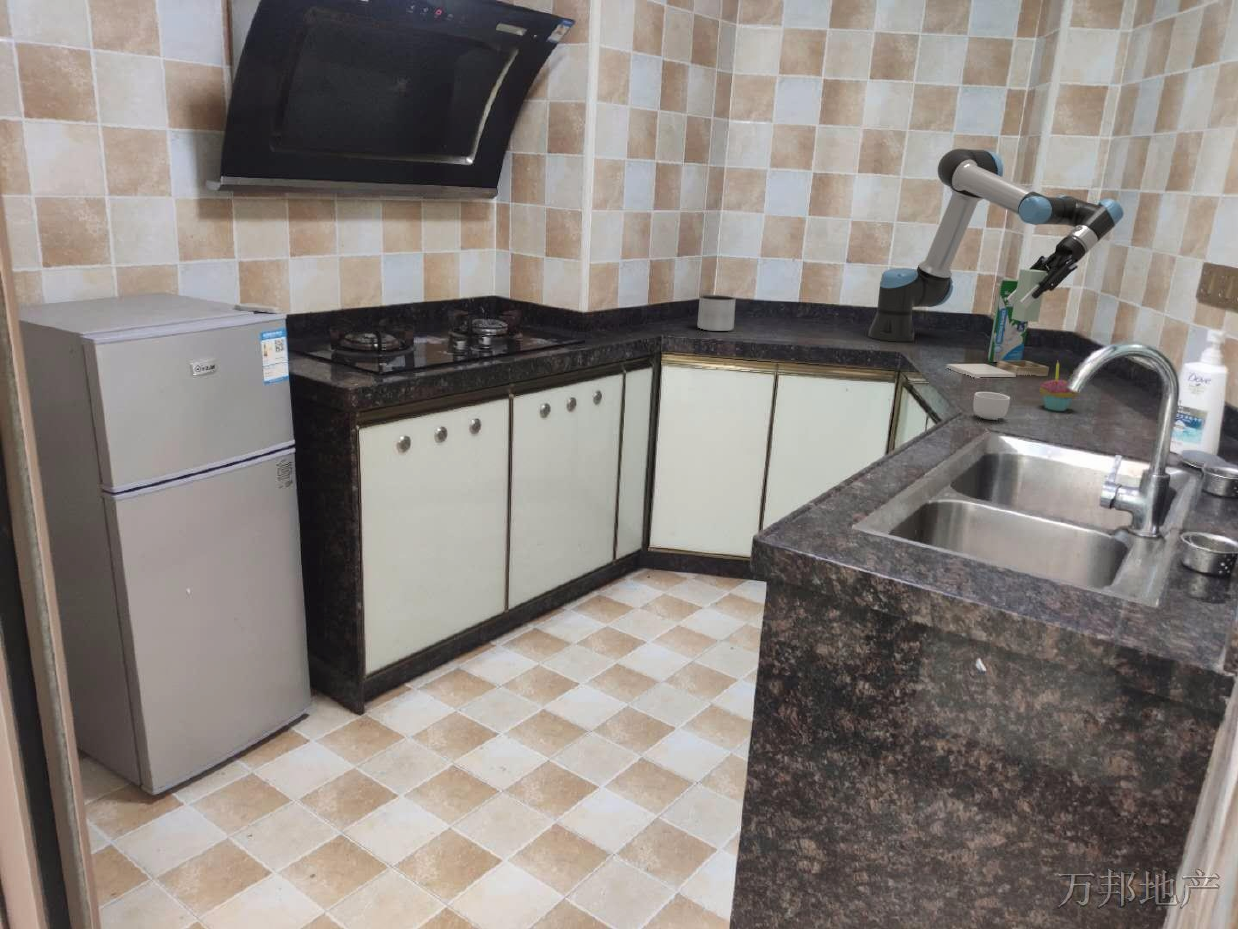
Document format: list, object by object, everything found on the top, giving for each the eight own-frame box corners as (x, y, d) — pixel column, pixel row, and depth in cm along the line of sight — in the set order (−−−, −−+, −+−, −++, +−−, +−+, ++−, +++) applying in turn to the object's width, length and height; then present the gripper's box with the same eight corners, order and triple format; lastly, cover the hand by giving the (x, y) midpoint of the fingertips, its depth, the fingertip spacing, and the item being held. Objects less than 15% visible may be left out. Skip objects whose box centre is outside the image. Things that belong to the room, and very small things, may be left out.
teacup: (1013, 422, 211) (1017, 399, 210) (981, 422, 210) (985, 399, 209) (990, 411, 221) (994, 389, 219) (960, 411, 220) (963, 389, 218)
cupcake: (1056, 413, 222) (1065, 364, 218) (1028, 405, 229) (1037, 357, 226) (1082, 411, 225) (1091, 362, 222) (1053, 403, 233) (1062, 356, 229)
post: (1011, 318, 267) (1020, 269, 263) (1026, 318, 268) (1034, 269, 264) (1023, 321, 262) (1031, 271, 258) (1037, 321, 264) (1046, 271, 260)
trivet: (946, 368, 272) (946, 364, 271) (984, 367, 275) (985, 363, 275) (975, 378, 259) (976, 374, 259) (1015, 377, 262) (1015, 373, 262)
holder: (995, 369, 274) (997, 360, 273) (1024, 368, 277) (1026, 360, 276) (1018, 376, 265) (1019, 367, 264) (1047, 375, 267) (1049, 367, 267)
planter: (726, 333, 314) (729, 300, 311) (691, 329, 319) (694, 297, 316) (738, 329, 325) (740, 297, 322) (704, 325, 330) (706, 293, 327)
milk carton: (1018, 360, 290) (1032, 279, 282) (1020, 365, 281) (1035, 282, 274) (987, 357, 292) (1001, 277, 285) (988, 362, 284) (1002, 279, 277)
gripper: (1047, 232, 269) (989, 289, 270) (1093, 237, 253) (1031, 298, 253) (1059, 251, 272) (1002, 307, 273) (1105, 258, 256) (1044, 317, 256)
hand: (1016, 303), depth 263 cm, fingers closed on post, 5 cm apart
